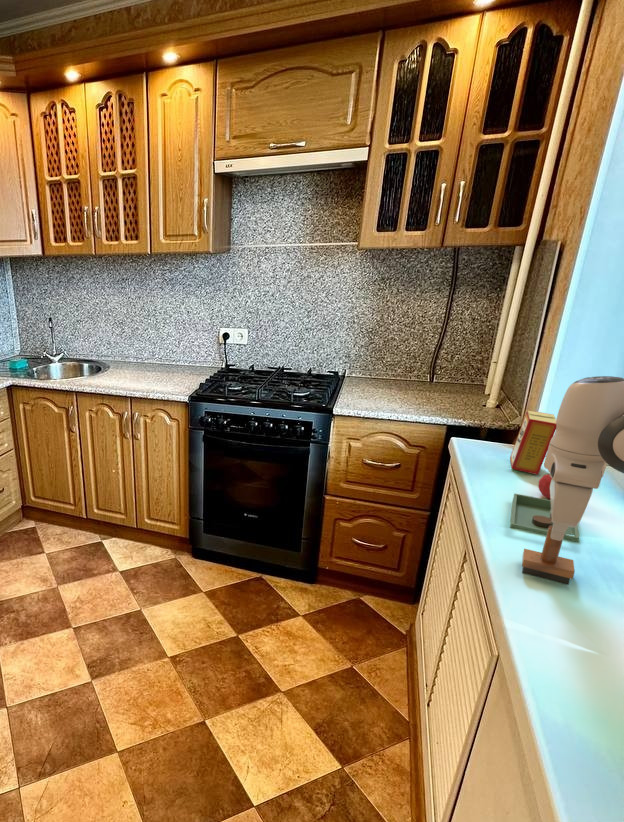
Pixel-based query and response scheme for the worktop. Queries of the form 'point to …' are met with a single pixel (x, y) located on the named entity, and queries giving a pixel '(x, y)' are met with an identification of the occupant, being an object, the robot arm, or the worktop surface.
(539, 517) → the brown disc
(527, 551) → the brush
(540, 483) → the tomato
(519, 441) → the baking soda box
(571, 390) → the robot arm
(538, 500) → the tray
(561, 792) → the worktop surface
